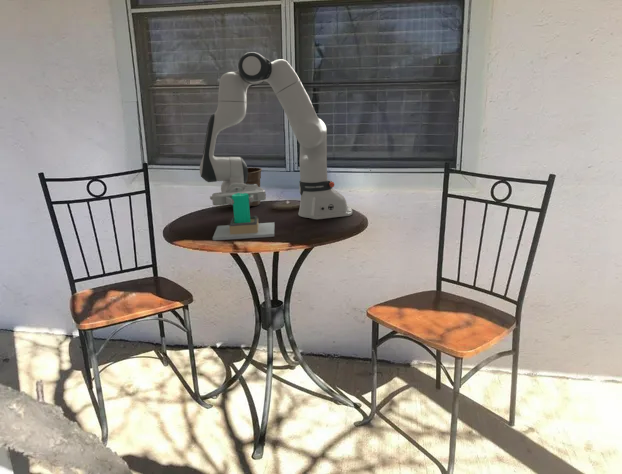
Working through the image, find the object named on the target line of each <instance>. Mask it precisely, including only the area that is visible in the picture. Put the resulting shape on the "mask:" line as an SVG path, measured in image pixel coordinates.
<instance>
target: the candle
mask: <svg viewBox="0 0 622 474" xmlns="http://www.w3.org/2000/svg"><path fill="white" fill-rule="evenodd" d="M232 199H233V200H234V204H233V205H232V209H233V217H234V221H235V223H247V222H251V219H250V216H251V212H250V211H251V210H250V207H251V206H250V207H249V196H248V194H247V193H237V194H233V195H232Z"/></svg>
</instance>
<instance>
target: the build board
mask: <svg viewBox="0 0 622 474" xmlns="http://www.w3.org/2000/svg"><path fill="white" fill-rule="evenodd" d="M250 219H251V222H247V223H235V221H234V216H233V217H231V219H230V223H229V224H227V225H217V226H216V228H215V231H214V234H213V236H212V241H225V240H228V241H229V240H242V239H255V238H258V239H259V238H272V237H273V238H275V226H276V225H275V221H274V222H260V223H259V217H258V216H257V215H250Z"/></svg>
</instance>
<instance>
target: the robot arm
mask: <svg viewBox="0 0 622 474" xmlns="http://www.w3.org/2000/svg"><path fill="white" fill-rule="evenodd" d="M237 68H238V69H237V70H236V71H228V72H225V73H223V74H222V75H221V76H220V79H219V84H218V94H217V108H216V111H214V114H212V115H210V117H209V119H208V123H207V128H206V132H205V133H206V135H205V140H204V146H203V153H202V158H201V160H200V163H199V164H200V165H199V173H200V174H199V175H200V177H201V178H202V179H203V180H204V181H205V182H207V183H216V182H221V186H220V190H221V191H220V192H215V193H212V194H211V195H210V196H209V199H210V200H211V201H212V205H213V206H223V205H231V206H233V204H234V200H233V199H232V195H233V194H237V193H247V194H248V196H249V202H253V201H260V202H261V201H265V200H266V198H267V194H266V190H265V189H264V188H262V187H261V186H260V187H258V186H257V184H245V183H246V182H247V179H248V169H247V168H248V165H247V163H246V162H245V160H244V158H242V156H215V155H214V154H215V149H216V143H217V137H218V135H219V134H220V132H222V131H223V130H225V129H228V128H230V127H234V126H236V125H238V124H239V123H241V122H242V121H243V120H244V119H245V118H246V115H247V106H248V105H247V97H248V96H247V95H248V93H247V92H248V89H249V88H251V87H254V86H258V85H261V84H263V83H264V82H266V83H268V85H270V87H271V88H272V91H273V92H274V95H275V96H276V98H277V100H278V102H279V103H280V106H281V107H282V109H283V111H284V113H285V115H286V118H287V120H288V123H289V125H290V128H291V130H292V131H293V134H294V136H295V138H296V140H297V142H298V143H299V178H300V180H299V183H298V188H299V195H300V200H299V201H300V204H299V210H298V216H299V217H302V218H309V219H312V220H323V219H332V218H339V217H342V218H343V217H350V216H351V215H353V209H352V208H351V207H350V206H348V204H347V203H348V202H347V200H346V198H345V197H344V195H342V194H341V193H340V192H338V191H337V190H335V189H334V187H335V183H334V181H332V180H331V179H328V160H327V157H328V155H327V154H328V153H327V152H328V151H327V150H328V149H327V148H328V139H327V138H328V137H327V133H328V132H327V126H326V124H325V122H324V121H323V120H322V119H321V118H319V117H318V115H317V113H316V110H315V107H314V106H313V103H312V100H311V98H310V96H309V94H308V93H307V91H306V89H305V86H304V85H303V83H302V81H301V79H300V78H299V76H298V74H297V72H296V71H295V69H294V67H292V65H291V64H290V63H289V61H287V60H286V59H282V58H281V59H280V58H279V59H275V60H273V61H271V60H269V59H268V58H266V57H265V56H263V55H262V54H260V53H259V52H255V51H248V52H246V53H244V54H243V55H242V56H241V57H240V58H239V61H238V64H237Z"/></svg>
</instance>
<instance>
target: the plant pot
mask: <svg viewBox="0 0 622 474" xmlns="http://www.w3.org/2000/svg"><path fill="white" fill-rule="evenodd" d="M247 169H248V179H247V182H246V183H245V184H257V186H258V187H261V179H262V171H263V169H262V168H261V167H247ZM259 205H261V201H253V202H249V207H257V206H259Z"/></svg>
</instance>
